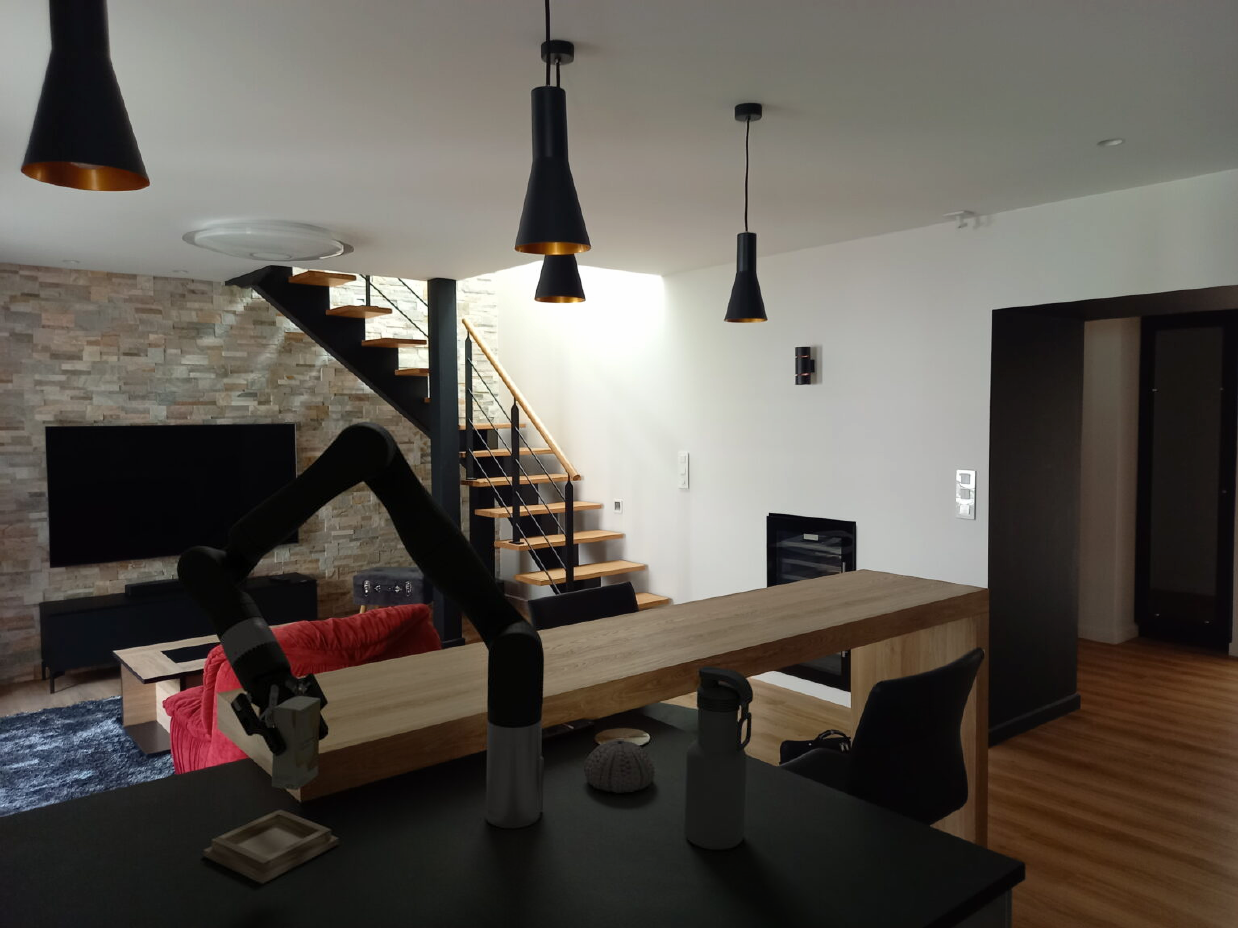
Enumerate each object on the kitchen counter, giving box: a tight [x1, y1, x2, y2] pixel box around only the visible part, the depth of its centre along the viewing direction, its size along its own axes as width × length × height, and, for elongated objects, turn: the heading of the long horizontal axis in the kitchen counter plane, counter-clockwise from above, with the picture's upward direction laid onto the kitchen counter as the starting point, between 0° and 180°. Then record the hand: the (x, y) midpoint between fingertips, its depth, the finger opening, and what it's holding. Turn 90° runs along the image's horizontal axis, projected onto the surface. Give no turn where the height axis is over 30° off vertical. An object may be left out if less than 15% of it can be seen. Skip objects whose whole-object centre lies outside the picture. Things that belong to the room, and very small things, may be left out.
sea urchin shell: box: [583, 738, 656, 794], centre depth 165 cm, size 13×14×8 cm
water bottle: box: [684, 665, 754, 851], centre depth 144 cm, size 10×10×28 cm
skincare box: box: [271, 696, 320, 791], centre depth 132 cm, size 6×4×12 cm
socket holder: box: [203, 809, 339, 884], centre depth 137 cm, size 14×14×2 cm
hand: (303, 744), depth 132 cm, fingers closed on skincare box, 7 cm apart
